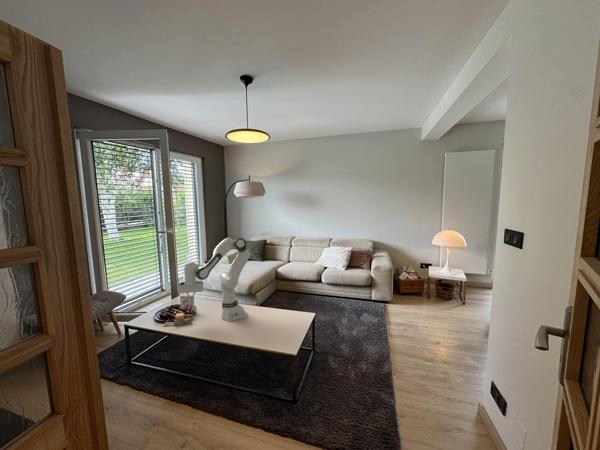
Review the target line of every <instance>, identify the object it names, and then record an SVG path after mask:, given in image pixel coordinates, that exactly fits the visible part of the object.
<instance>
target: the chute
mask: <svg viewBox="0 0 600 450" xmlns="http://www.w3.org/2000/svg"><path fill="white" fill-rule="evenodd" d="M184 318H185V319H179V320H175V319H173V320H174V322H166V321H165V323H164V325H163V327H165V328H166V327H174V326H183V325H185V326H186V325H192V323H193V322H192V321H193V320H194V313H192V314H189V313H187V314H184Z"/></svg>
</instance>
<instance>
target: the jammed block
mask: <svg viewBox="0 0 600 450" xmlns="http://www.w3.org/2000/svg"><path fill="white" fill-rule="evenodd" d="M184 315H185V313H181V312H180V313H179V312H178V313H176V314H175V316H174V317H175V318H174V320H179V319H185V318H184Z"/></svg>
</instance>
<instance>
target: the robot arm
mask: <svg viewBox="0 0 600 450" xmlns="http://www.w3.org/2000/svg"><path fill="white" fill-rule="evenodd" d="M233 249H234V250H236V251H237V254H236V256H235V257H234V259H233V260H232V262H231V263H230V265H229V271H224V272H221V273H220V274H219V281H220V288H221V295H222V298H221V299H222V302H221V308H222V310H221V316H220V318H221V319H222V320H223V321H227V322H233V321H239V320H243V319H246V318H248V317H247V316H248V313H247V311H246V310H245V309H244V307H243V306H242V305H241V304H239V301H238V299H236V290H235V288H236V287H237V286H238V285H239V278H240V276H241V274H242V271H243V270H244V268H245V266H246V264H247V263H248V260H249V259H250V256H251V253H250V251H249V250H248V249H247V241H246V239H245V238H244V237H237V238H236V239H235V240H234V239H233V238H231V237H226V238H224V239H223V240H221V242H219V244H217V245H216V246H215V248H214V249H213V251H212V252H213V253H212V257H211V259H210V260H209V261H208V262H207V263H206V264H205V265H204V264H199V263H197V262H194V261H190V262H187V263H186V264H185V265H184V267H183V268H184V271H183V273H184V279H181V280H180V281H179V282H178V286H177V293H178V294H185V295H188V298H190V295H192V297H194V298H195V294H196V293H201V292H202V293H203V291H205V290H204V285H205V283H204V281H203V280H206V279H208V277H209V275H210V273H211V272H212V271H213V269H214V268H215V267H216V266H217V264H218V263H219V262H220V261H221V260H222V259H223V258H224V257H225V256H226V255H228V253H229V252H230V251H231V250H233ZM197 279H198V280H197ZM190 293H192V294H190ZM242 318H243V319H242Z"/></svg>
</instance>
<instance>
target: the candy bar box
mask: <svg viewBox="0 0 600 450" xmlns="http://www.w3.org/2000/svg"><path fill="white" fill-rule="evenodd" d="M189 295H190V298H188V295H187V294H186V293H182V294H181V295H180V296H179V301H180V309H181V308H182V309H188V310H191V311H192V310H194V311H195V296H194V297H192V295H193V294H189Z"/></svg>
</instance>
